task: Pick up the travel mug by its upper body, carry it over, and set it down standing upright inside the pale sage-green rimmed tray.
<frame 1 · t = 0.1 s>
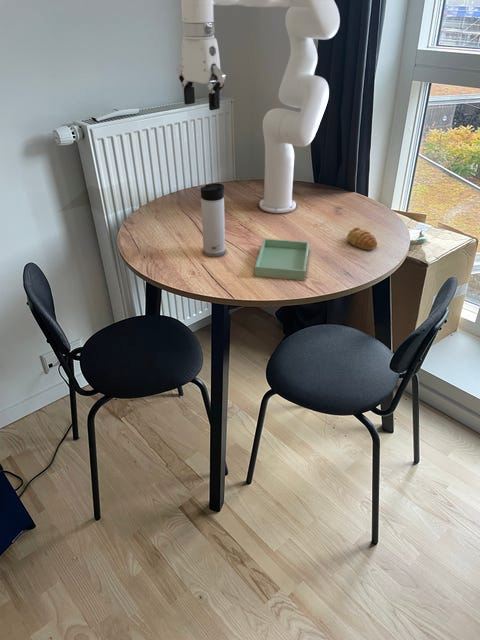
hand: (201, 106, 128), 37 cm above the table, tool pointing down, fingers open, 9 cm apart
pastry: (361, 243, 145), on the table
travel mug: (214, 252, 141), on the table
tray: (282, 262, 135), on the table
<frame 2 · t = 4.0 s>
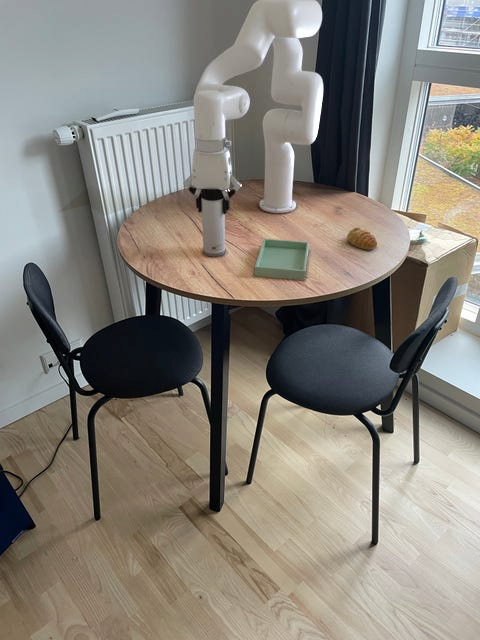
hand: (213, 210, 133), 13 cm above the table, tool pointing down, fingers closed on travel mug, 6 cm apart
travel mug: (214, 252, 141), on the table, touching gripper
everything else where it was.
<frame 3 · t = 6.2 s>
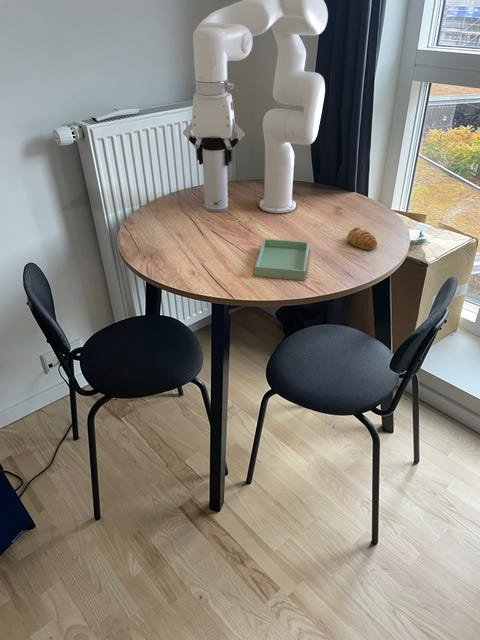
hand: (214, 163, 126), 26 cm above the table, tool pointing down, fingers closed on travel mug, 6 cm apart
travel mug: (216, 209, 133), point 13 cm above the table, touching gripper
everything else where it was.
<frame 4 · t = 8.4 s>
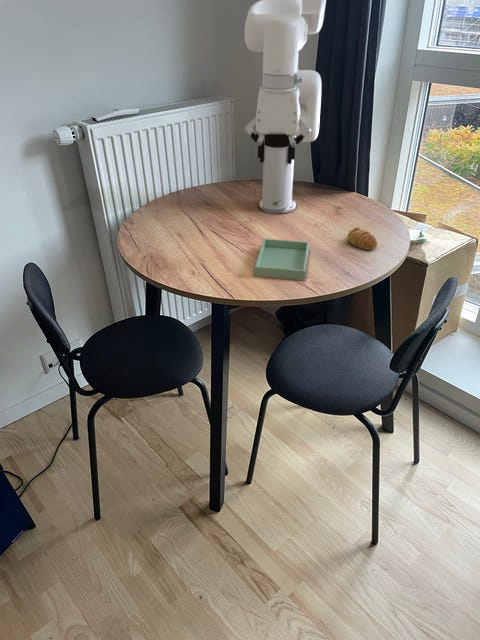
hand: (276, 160, 120), 28 cm above the table, tool pointing down, fingers closed on travel mug, 6 cm apart
travel mug: (274, 210, 127), point 15 cm above the table, touching gripper
everything else where it was.
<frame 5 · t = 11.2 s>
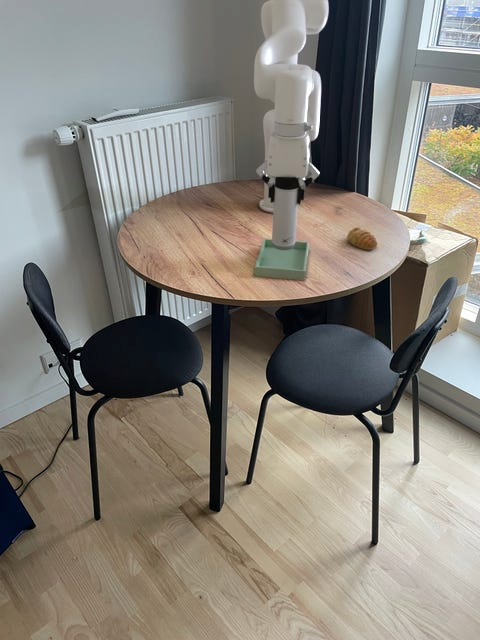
hand: (286, 201, 125), 18 cm above the table, tool pointing down, fingers closed on travel mug, 6 cm apart
travel mug: (283, 246, 132), point 5 cm above the table, touching gripper
everything else where it was.
when the fingers open (13 cm above the table, at t = 13.1 s): travel mug stays where it is, resting on tray.
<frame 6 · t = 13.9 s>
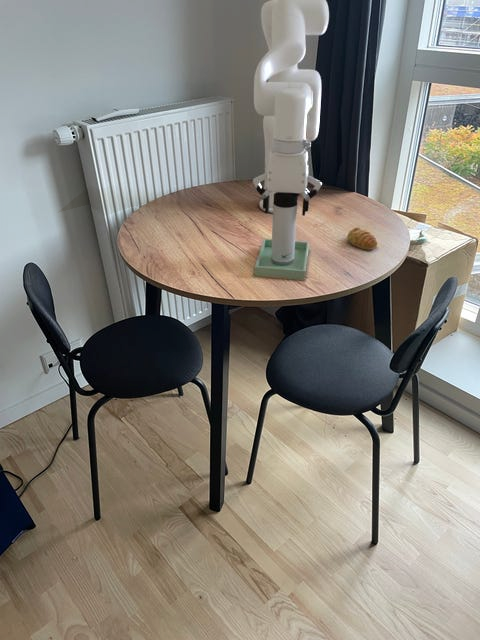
hand: (285, 212, 127), 15 cm above the table, tool pointing down, fingers open, 9 cm apart
travel mug: (282, 261, 135), resting on tray
everything else where it was.
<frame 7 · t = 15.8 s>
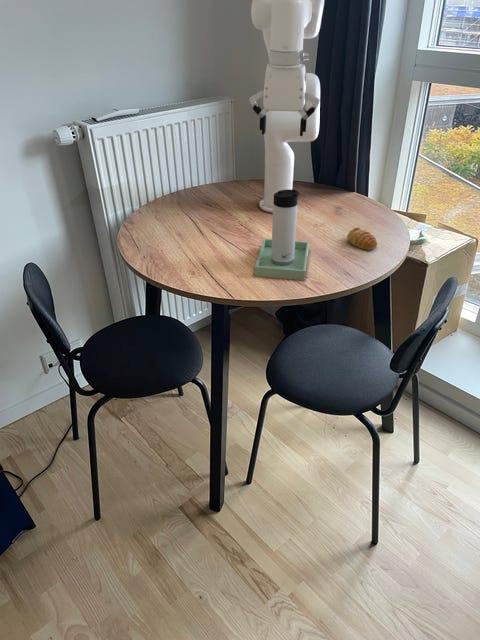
hand: (282, 133, 124), 32 cm above the table, tool pointing down, fingers open, 9 cm apart
nothing on the table moved.
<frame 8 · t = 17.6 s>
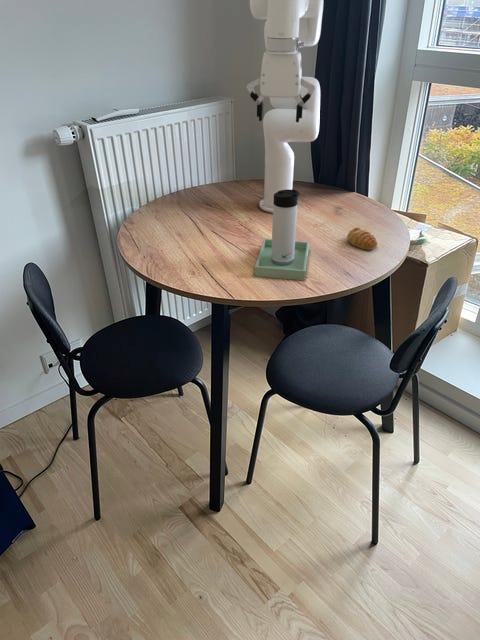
hand: (279, 120, 127), 34 cm above the table, tool pointing down, fingers open, 9 cm apart
nothing on the table moved.
at the end: travel mug inside the target area in the tray (0.1 cm from its centre), point 0.4 cm above the tray's base; travel mug tilted 0°; the gripper is holding nothing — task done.
